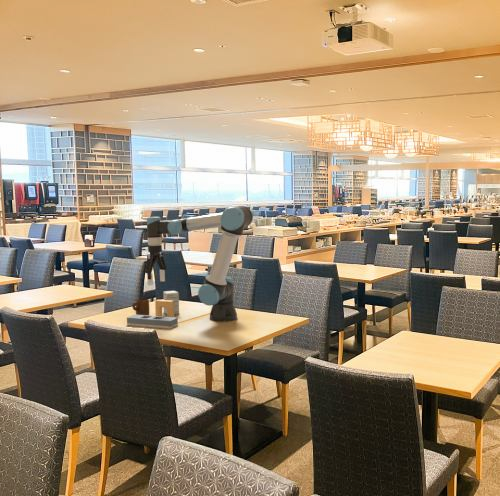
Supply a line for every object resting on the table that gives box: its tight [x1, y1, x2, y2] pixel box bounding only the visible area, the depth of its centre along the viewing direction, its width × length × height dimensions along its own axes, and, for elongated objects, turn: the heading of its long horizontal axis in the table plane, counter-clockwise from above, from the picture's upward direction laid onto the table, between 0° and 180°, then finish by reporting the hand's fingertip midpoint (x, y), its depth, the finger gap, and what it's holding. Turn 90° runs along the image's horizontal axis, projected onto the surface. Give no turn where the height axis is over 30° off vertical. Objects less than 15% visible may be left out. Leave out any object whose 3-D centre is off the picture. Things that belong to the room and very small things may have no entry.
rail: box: [126, 314, 179, 329], centre depth 302 cm, size 26×8×4 cm, turn 70°
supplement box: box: [162, 290, 180, 316], centre depth 330 cm, size 7×7×13 cm
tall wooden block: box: [154, 299, 175, 317], centre depth 314 cm, size 10×3×10 cm, turn 70°
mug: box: [131, 298, 150, 316], centre depth 322 cm, size 12×8×9 cm, turn 151°
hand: (156, 283), depth 314 cm, fingers open, 13 cm apart
